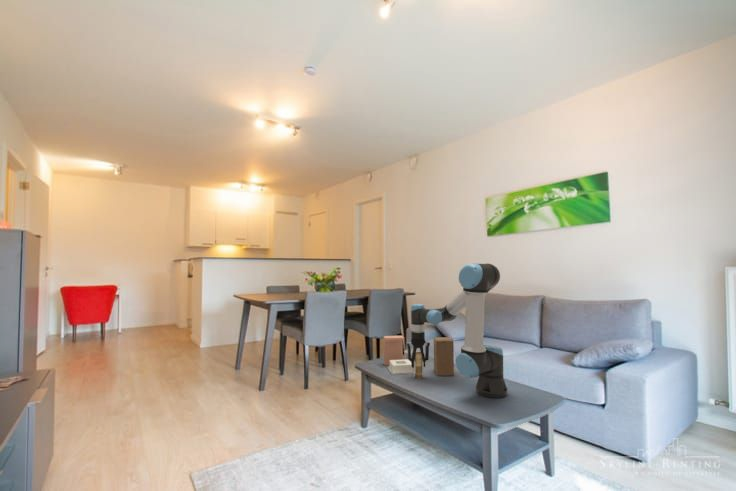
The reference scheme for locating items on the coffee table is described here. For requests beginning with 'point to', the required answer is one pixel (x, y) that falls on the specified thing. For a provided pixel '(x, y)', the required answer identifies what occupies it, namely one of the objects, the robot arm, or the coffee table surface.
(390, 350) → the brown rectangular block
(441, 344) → the wooden block
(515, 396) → the coffee table surface
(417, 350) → the ramekin
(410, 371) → the socket
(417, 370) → the peg
